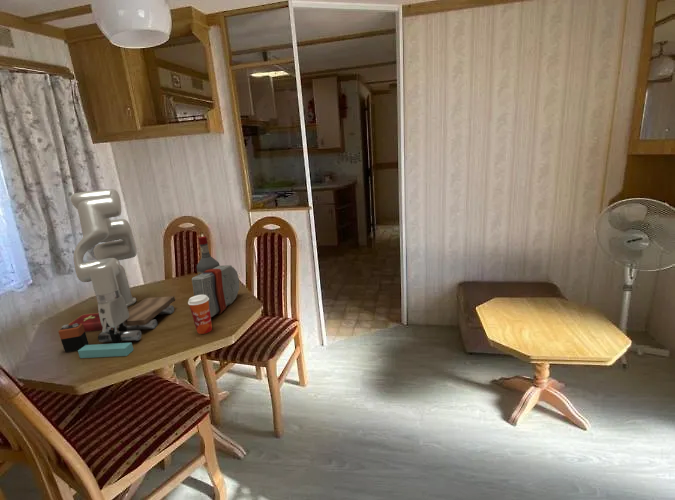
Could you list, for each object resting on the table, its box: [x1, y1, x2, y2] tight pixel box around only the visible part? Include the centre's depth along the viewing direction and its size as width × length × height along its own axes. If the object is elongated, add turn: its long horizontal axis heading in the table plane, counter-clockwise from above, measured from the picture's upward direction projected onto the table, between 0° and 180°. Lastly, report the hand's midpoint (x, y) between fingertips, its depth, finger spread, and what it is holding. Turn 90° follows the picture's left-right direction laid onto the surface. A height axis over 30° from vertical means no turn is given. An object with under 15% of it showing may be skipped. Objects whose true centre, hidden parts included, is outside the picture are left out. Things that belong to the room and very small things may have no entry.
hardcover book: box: [67, 308, 130, 333], centre depth 158 cm, size 12×21×4 cm, turn 93°
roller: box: [97, 330, 142, 343], centre depth 140 cm, size 15×4×4 cm, turn 86°
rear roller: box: [158, 304, 175, 315], centre depth 164 cm, size 15×4×4 cm, turn 86°
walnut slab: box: [127, 295, 176, 326], centre depth 157 cm, size 14×24×2 cm, turn 176°
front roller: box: [117, 318, 158, 331], centre depth 151 cm, size 15×4×4 cm, turn 86°
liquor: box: [196, 236, 221, 276], centre depth 175 cm, size 9×9×30 cm
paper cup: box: [187, 295, 213, 335], centre depth 142 cm, size 8×8×14 cm
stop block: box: [77, 342, 134, 359], centre depth 132 cm, size 18×4×3 cm, turn 86°
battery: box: [57, 323, 90, 353], centre depth 138 cm, size 4×7×10 cm, turn 103°
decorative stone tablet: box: [191, 265, 240, 318], centre depth 162 cm, size 19×6×30 cm
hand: (120, 339), depth 141 cm, fingers closed on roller, 3 cm apart
